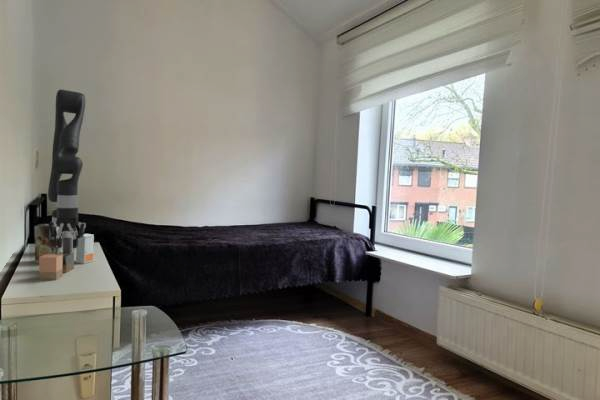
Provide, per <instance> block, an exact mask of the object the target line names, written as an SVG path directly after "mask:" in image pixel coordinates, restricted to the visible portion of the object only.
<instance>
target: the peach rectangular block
mask: <svg viewBox="0 0 600 400" xmlns="http://www.w3.org/2000/svg"><path fill="white" fill-rule="evenodd" d="M62 264H63V255H54V254H45V255H43V256H41V257H39V265H38V266H39V267H38V269H39V270H38V272H39V273H38V274H39V275H38V277H39V278H38V280H41V281H42V280H43V281H44V280H45V281H57V280H59V279H61V278H62V277H63V273H62Z"/></svg>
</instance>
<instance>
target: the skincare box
mask: <svg viewBox="0 0 600 400" xmlns="http://www.w3.org/2000/svg"><path fill="white" fill-rule="evenodd" d="M94 235H95V234H91V233H84V235H83V237H81V238H79V239H78V246H77V248H75V253H76V254H75V263H76V264H83V265H85V264H87V263H91V262H94V245H95V244H94V242H95V241H94V240H95V236H94Z"/></svg>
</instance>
